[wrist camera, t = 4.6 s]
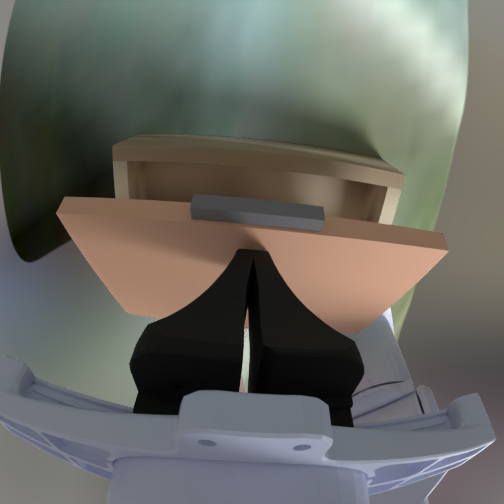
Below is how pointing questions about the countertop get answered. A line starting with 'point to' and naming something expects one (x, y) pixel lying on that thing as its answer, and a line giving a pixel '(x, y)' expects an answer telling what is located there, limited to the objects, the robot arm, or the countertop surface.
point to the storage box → (256, 174)
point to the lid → (254, 238)
